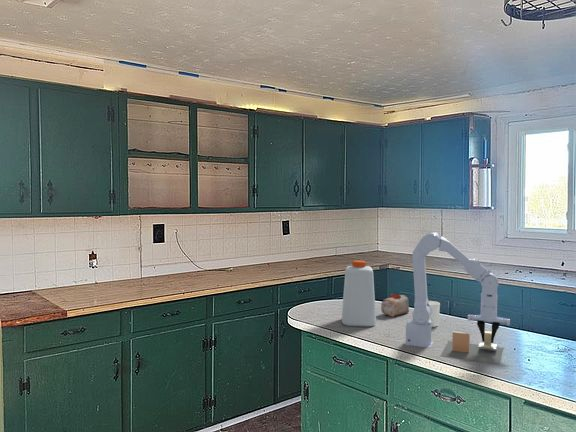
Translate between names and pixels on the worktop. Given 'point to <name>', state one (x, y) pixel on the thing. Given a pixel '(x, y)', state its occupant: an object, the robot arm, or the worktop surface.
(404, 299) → the food item
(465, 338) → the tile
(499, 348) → the mat
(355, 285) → the plastic bottle
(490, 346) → the beige blocky piece
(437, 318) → the white cup
